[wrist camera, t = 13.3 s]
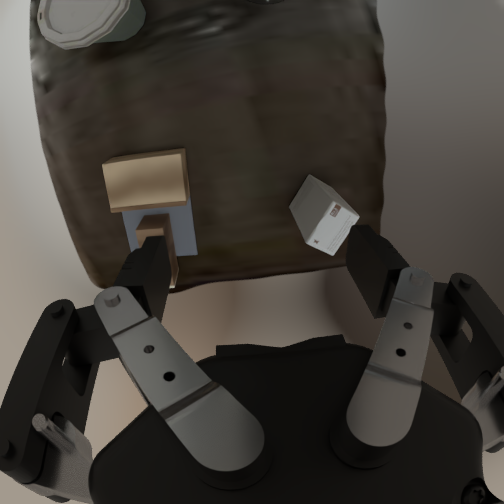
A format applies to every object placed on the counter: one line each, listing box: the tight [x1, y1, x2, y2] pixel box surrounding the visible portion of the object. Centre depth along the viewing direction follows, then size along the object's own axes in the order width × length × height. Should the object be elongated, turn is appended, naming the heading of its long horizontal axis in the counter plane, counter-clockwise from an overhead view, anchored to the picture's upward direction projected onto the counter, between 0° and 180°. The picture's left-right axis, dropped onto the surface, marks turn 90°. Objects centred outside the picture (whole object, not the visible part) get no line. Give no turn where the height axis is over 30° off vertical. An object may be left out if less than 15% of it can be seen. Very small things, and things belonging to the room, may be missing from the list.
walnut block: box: [135, 213, 179, 288], centre depth 43 cm, size 5×4×10 cm
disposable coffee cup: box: [37, 0, 146, 49], centre depth 22 cm, size 11×11×15 cm
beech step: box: [102, 148, 190, 213], centre depth 38 cm, size 7×11×4 cm, turn 92°
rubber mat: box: [122, 196, 198, 256], centre depth 44 cm, size 10×11×1 cm
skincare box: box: [289, 174, 359, 256], centre depth 38 cm, size 6×4×12 cm
